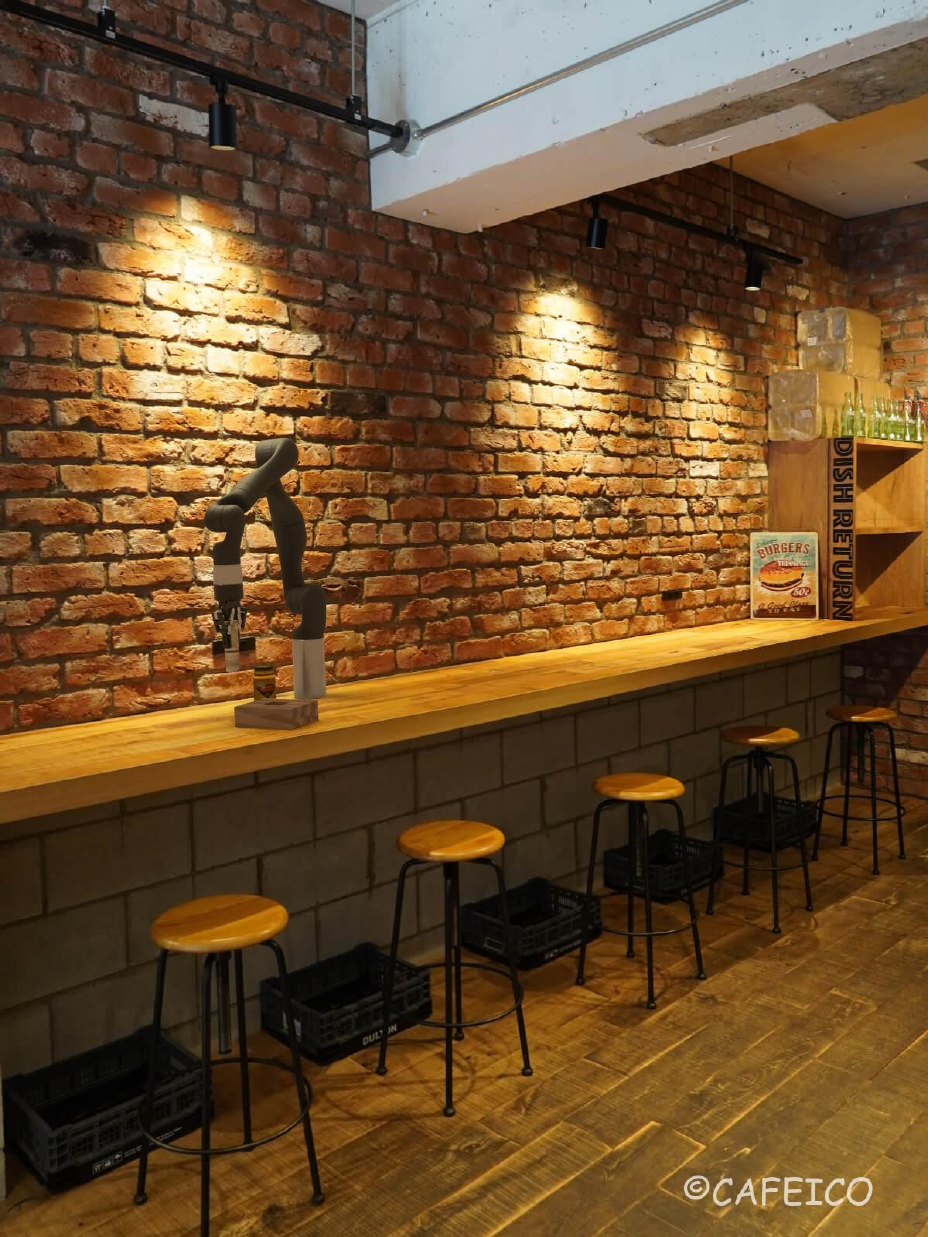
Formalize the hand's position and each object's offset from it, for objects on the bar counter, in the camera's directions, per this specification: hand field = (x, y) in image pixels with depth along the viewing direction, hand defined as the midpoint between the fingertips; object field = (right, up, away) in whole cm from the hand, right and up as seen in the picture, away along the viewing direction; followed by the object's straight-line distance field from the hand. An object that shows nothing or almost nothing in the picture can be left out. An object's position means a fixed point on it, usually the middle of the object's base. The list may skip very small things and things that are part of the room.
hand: (231, 647), depth 274 cm
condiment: (+6, -18, +13) cm, 23 cm away
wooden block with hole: (+14, -19, -9) cm, 25 cm away
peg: (0, -6, +1) cm, 6 cm away
